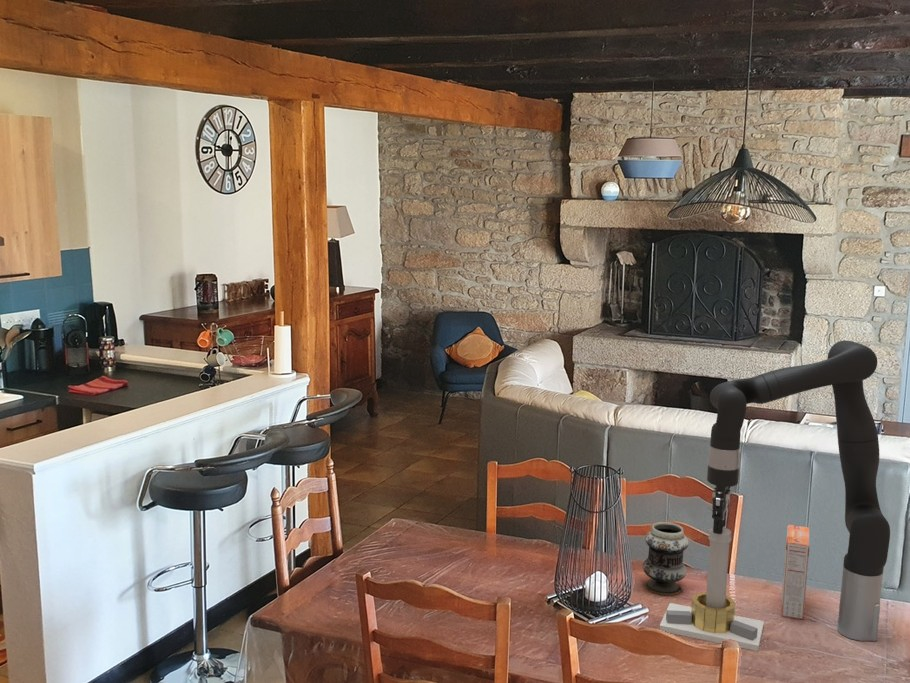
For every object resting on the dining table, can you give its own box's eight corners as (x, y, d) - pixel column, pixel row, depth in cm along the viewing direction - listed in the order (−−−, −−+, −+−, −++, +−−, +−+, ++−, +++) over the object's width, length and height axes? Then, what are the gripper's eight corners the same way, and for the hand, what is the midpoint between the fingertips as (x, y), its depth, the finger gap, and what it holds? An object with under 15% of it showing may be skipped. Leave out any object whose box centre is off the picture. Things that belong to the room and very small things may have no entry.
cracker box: (781, 595, 255) (787, 523, 252) (804, 599, 253) (810, 526, 250) (779, 616, 242) (786, 541, 239) (804, 620, 240) (810, 545, 237)
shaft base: (763, 626, 237) (764, 612, 236) (758, 651, 224) (759, 636, 223) (669, 608, 246) (670, 594, 245) (659, 630, 233) (660, 616, 233)
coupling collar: (735, 618, 237) (737, 597, 236) (730, 636, 228) (732, 613, 227) (694, 610, 241) (696, 589, 240) (688, 627, 232) (689, 605, 231)
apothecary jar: (682, 600, 251) (686, 538, 248) (637, 592, 255) (641, 531, 252) (688, 583, 262) (692, 523, 259) (645, 575, 266) (649, 516, 263)
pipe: (726, 626, 231) (734, 512, 226) (700, 623, 232) (708, 510, 227) (724, 616, 236) (732, 505, 231) (699, 614, 238) (706, 503, 233)
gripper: (735, 474, 220) (731, 542, 222) (742, 458, 233) (738, 522, 235) (703, 470, 223) (699, 536, 225) (712, 454, 235) (708, 518, 238)
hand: (719, 529), depth 230 cm, fingers closed on pipe, 5 cm apart
